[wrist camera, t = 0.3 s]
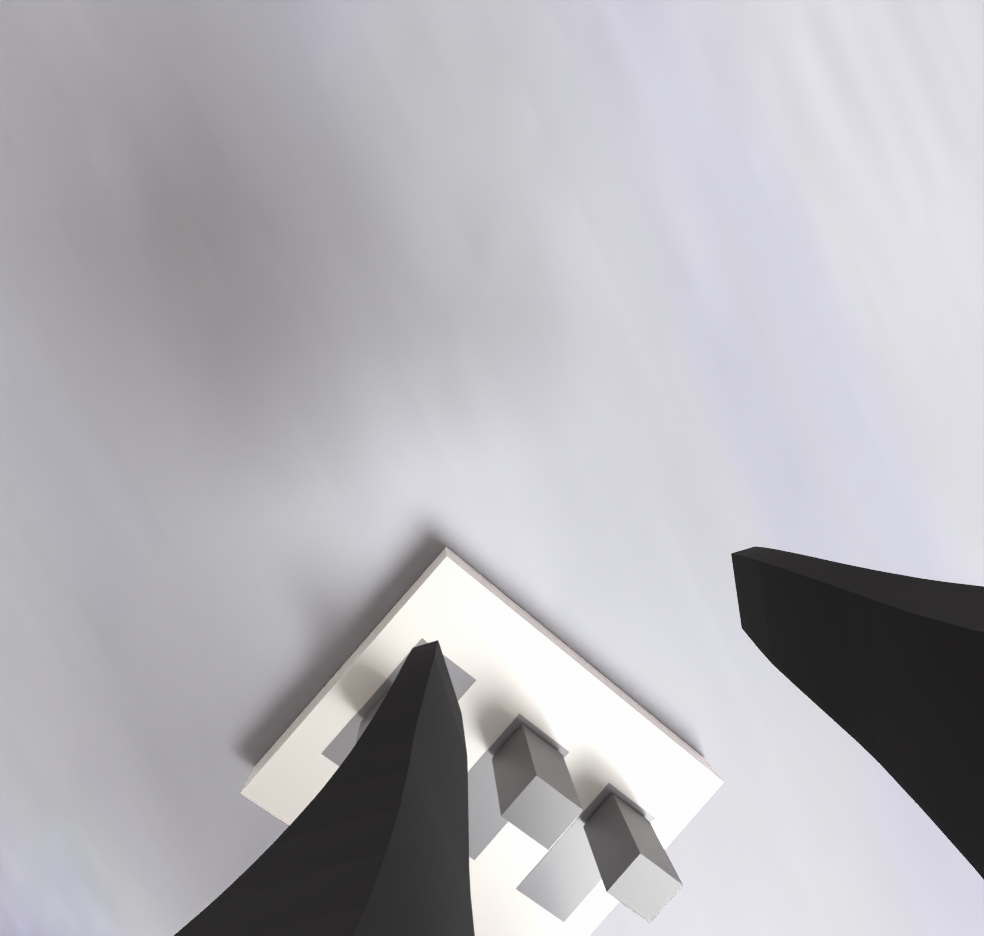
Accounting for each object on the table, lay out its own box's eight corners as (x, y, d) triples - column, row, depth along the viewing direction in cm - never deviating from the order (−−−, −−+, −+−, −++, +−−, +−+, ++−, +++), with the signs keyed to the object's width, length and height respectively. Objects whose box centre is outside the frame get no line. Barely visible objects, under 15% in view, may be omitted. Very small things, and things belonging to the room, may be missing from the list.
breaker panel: (534, 954, 24) (557, 1085, 19) (253, 767, 21) (202, 865, 16) (705, 759, 24) (771, 842, 19) (446, 546, 21) (448, 583, 16)
